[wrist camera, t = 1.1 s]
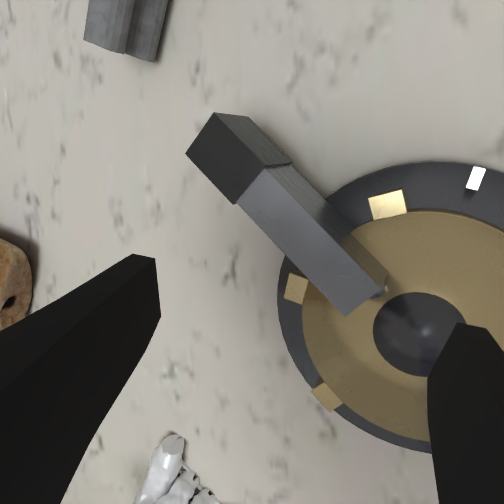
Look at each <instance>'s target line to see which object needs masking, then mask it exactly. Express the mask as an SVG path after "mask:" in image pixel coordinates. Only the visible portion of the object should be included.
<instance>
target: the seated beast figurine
mask: <svg viewBox="0 0 504 504" xmlns="http://www.w3.org/2000/svg"><path fill="white" fill-rule="evenodd" d="M183 449H184V438H179V435H178V434H175V435H170V436H167V437H166V438H165V439H164V440H163V441H162V442H161V443H160V445H159V446H158V447H156V448H155V449H154V450H153V455H152V458H151V459H150V460H149V464H150V466H149V468H148V473H147V477H146V478H145V480H144V481H143V485H142V488H141V489H140V490H139V491H138V492H137V495H136V497H135V502H134V503H133V504H222V503H221V502H220V501H219V500H218V499H217V498H215V495H214V494H212V495H210V496H209V494H208V493H209V491H210V490H209V489H207V488H204V489H203V488H202V487H201V486H200V485H199V481H200V479H199V477H197V478H195V479H194V480H193V477H194V475H195V472H194V471H193V470H191V469H190V468H189V467H188V465H187V464H186V463H185V462H184V461H183V460H182V454H183ZM181 466H183V467H184V468H185V471H183V470H181ZM178 473H180V476H179V477H178V476H177V475H178ZM196 487H197V488H198V489H199V491H200V492H199V493H198V495H195V496H194V497H193V500H192V501H191V500H190V499H191V498H192V496H193V494H194V490H195V489H196Z"/></svg>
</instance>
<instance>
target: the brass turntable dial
mask: <svg viewBox="0 0 504 504" xmlns="http://www.w3.org/2000/svg"><path fill="white" fill-rule="evenodd" d="M185 154H186V155H187V156H188V157H189V158H190V160H191V161H192V162H193V163H194V164H195V165H196V166H197V167H198V168H199V169H200V170H201V171H202V172H203V173H204V174H205V176H206V177H207V178H208V179H209V180H210V181H211V182H212V183H213V184H214V185H215V186H216V187H217V188H218V189H219V190H220V191H221V193H222V194H223V195H224V196H225V197H226V198H227V199H228V200H229V201H230V202H231V203H232V204H236V203H237V204H238V205H239V206H240V207H241V208H242V209H243V210H244V211H245V212H246V213H247V214H248V215H249V216H250V217H251V218H252V220H253V221H254V222H255V223H256V224H257V225H258V226H259V227H260V228H261V229H262V230H263V231H264V232H265V233H266V234H267V235H268V237H269V238H270V239H271V240H272V241H273V242H274V243H275V244H276V245H277V246H278V247H279V248H280V249H281V250H282V251H283V252H284V253H285V255H286V256H287V257H288V258H289V259H290V260H291V261H292V262H293V263H294V264H295V265H296V266H297V267H296V268H295V269H294V270H293V271H292V272H290V274H289V278H288V282H287V286H286V290H285V294H284V298H285V299H288V300H291V301H293V302H296V303H299V304H301V305H302V304H303V308H302V324H303V333H304V338H305V342H306V346H307V349H308V352H309V355H310V357H311V359H312V361H313V363H314V365H315V367H316V370H317V371H318V373H319V374H320V376H319V377H318V379H317V381H316V383H315V385H314V387H313V389H312V390H311V392H312V394H313V395H314V396H315V397H316V398H317V399H318V400H319V401H320V402H321V403H322V405H323V406H324V407H325V408H326V409H327V410H328V411H329V412H331V411H332V410H334V409H335V408H337V407H338V406H340V405H341V404H343V403H344V404H346V405H347V406H348V407H349V408H351V409H352V410H353V411H354V412H355V413H357V414H359V415H360V416H362V417H363V418H365V419H366V420H368V421H369V422H371V423H373V424H375V425H377V426H379V427H381V428H383V429H386V430H388V431H391V432H393V433H396V434H398V435H402V436H405V437H409V438H412V439H417V440H422V441H428V442H430V436H429V428H428V418H427V378H428V376H429V374H430V372H431V370H432V368H433V366H434V364H435V363H436V361H437V359H438V357H439V355H440V353H441V351H442V349H443V348H444V346H445V344H446V342H447V340H448V338H449V336H450V335H451V333H452V331H453V329H454V327H455V325H456V323H457V322H459V323H464V324H468V325H473V326H478V327H483V328H487V330H488V331H489V332H490V334H491V335H492V336H493V338H494V339H495V340H496V342H497V343H498V345H499V346H500V347H501V349H502V350H503V351H504V230H503V229H501V228H500V227H498V226H496V225H494V224H492V223H490V222H488V221H486V220H483V219H481V218H479V217H475V216H472V215H469V214H466V213H463V212H458V211H453V210H448V209H439V208H410V207H409V203H408V199H407V195H406V190H405V186H404V187H400V188H396V189H392V190H389V191H385V192H381V193H377V194H373V195H372V196H371V197H369V198H368V199H369V203H370V207H371V211H372V215H373V219H370V220H368V221H366V222H364V223H362V224H361V225H359V226H357V227H356V228H354V229H353V228H352V227H351V226H350V225H349V224H348V223H347V222H346V221H345V220H344V219H343V218H342V217H341V216H340V215H339V214H338V213H337V212H336V211H335V210H334V209H333V208H332V207H331V206H330V205H329V204H328V203H327V202H326V201H325V199H324V198H323V197H322V196H321V195H320V194H319V193H318V192H317V191H316V190H315V189H314V188H313V187H312V186H311V185H310V184H309V183H308V182H307V181H306V180H305V179H304V178H303V177H302V176H301V175H300V174H299V173H298V172H297V171H296V170H295V169H294V168H293V167H292V166H291V165H290V164H291V163H292V161H291V160H290V159H289V158H288V157H287V156H286V155H285V154H284V153H283V152H282V151H281V150H280V149H279V148H278V146H277V145H276V144H275V143H274V142H273V141H272V140H271V139H270V138H269V137H268V136H267V135H266V134H265V133H264V132H263V131H262V130H261V129H260V128H259V127H258V126H257V125H256V124H255V123H254V122H253V121H252V120H251V119H250V118H249V117H246V116H238V115H230V114H222V113H215V112H214V113H213V114H212V116H211V117H210V119H209V120H208V121H207V123H206V124H205V126H204V127H203V129H202V130H201V132H200V133H199V134H198V136H197V137H196V139H195V140H194V142H193V143H192V144H191V146H190V147H189V149H188V150H187V152H186V153H185ZM409 208H410V209H409ZM430 444H431V443H430Z"/></svg>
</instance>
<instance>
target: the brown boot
mask: <svg viewBox="0 0 504 504" xmlns="http://www.w3.org/2000/svg"><path fill="white" fill-rule="evenodd" d="M31 297H32V273H31V267H30V265H29V262H28V258H27V256H26V255H25V253H24V252H23V250H21V249H20V248H19V247H17V246H15V245H13V244H11V243H9V242H7V241H5V240H3V239H1V238H0V331H1V330H3V329H5V328H7V327H9V326H11V325H13V324H14V323H16V322H18V321H20V320H22V319H23V318H25V315H26V312H27V310H28V307H29V304H30V300H31Z"/></svg>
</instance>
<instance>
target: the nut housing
mask: <svg viewBox="0 0 504 504" xmlns="http://www.w3.org/2000/svg"><path fill="white" fill-rule="evenodd" d="M404 186H405V190H406V195H407V199H408V203H409V207H410V208H439V209H448V210H453V211H458V212H463V213H466V214H469V215H472V216H475V217H479V218H481V219H483V220H486V221H488V222H490V223H492V224H494V225H496V226H498V227H500V228H501V229H503V230H504V173H503V172H501V171H498V170H494V169H491V168H487V167H484V166H480V165H476V164H469V163H463V162H456V161H421V162H410V163H405V164H400V165H396V166H391V167H387V168H384V169H382V170H379V171H376V172H373V173H370V174H368V175H365V176H363V177H361V178H359V179H357V180H355V181H353V182H351V183H349V184H347V185H345V186H344V187H342V188H341V189H339V190H338V191H336V192H335V193H333V194H332V195H330V196H329V197H328V198H327V199H325V201H326V202H327V203H328V204H329V205H330V206H331V207H332V208H333V209H334V210H335V211H336V212H337V213H338V214H339V215H340V216H341V217H342V218H343V219H344V220H345V221H346V222H347V223H348V224H349V225H350V226H351V227H352V228H353V229H354V228H356V227H357V226H359V225H361V224H362V223H364V222H366V221H368V220H370V219H373V215H372V211H371V207H370V203H369V199H368V198H369V197H371V196H372V195H373V194H377V193H381V192H385V191H389V190H392V189H396V188H400V187H404ZM410 208H409V209H410ZM296 267H297V266H296V265H295V264H294V263H293V262H292V261H291V260H290V259H289V258H288V257H287V256H286V255H285V257H284V260H283V263H282V267H281V270H280V276H279V282H278V298H277V304H278V314H279V321H280V325H281V330H282V334H283V337H284V340H285V342H286V345H287V348H288V351H289V353H290V355H291V357H292V359H293V361H294V363H295V365H296V366H297V368H298V369H299V371H300V373H301V374H302V376H303V377H304V379H305V380H306V381H307V383H308V384H309V385H310V386H311V388H312V389H313V387H314V385H315V383H316V381H317V379H318V377H319V376H320V374H319V373H318V371H317V370H316V367H315V365H314V363H313V361H312V359H311V357H310V355H309V352H308V349H307V346H306V342H305V338H304V333H303V324H302V308H303V304H302V305H301V304H299V303H296V302H293V301H291V300H288V299H285V298H284V294H285V290H286V286H287V282H288V278H289V274H290V272H292V271H293V270H294V269H295V268H296ZM334 411H336V412H337V413H338V414H339V415H341V416H342V417H343V418H345V419H346V420H348V421H349V422H351V423H352V424H354V425H355V426H357V427H358V428H360V429H362V430H364V431H366V432H367V433H369V434H371V435H373V436H375V437H377V438H380V439H382V440H384V441H387V442H389V443H392V444H394V445H398V446H401V447H404V448H408V449H411V450H415V451H420V452H425V453H430V454H432V450H431V444H430V442H428V441H422V440H417V439H412V438H409V437H405V436H402V435H398V434H396V433H393V432H391V431H388V430H386V429H383V428H381V427H379V426H377V425H375V424H373V423H371V422H369V421H368V420H366V419H365V418H363V417H362V416H360V415H359V414H357V413H355V412H354V411H353V410H352V409H351V408H349V407H348V406H347V405H346V404H344V403H343V404H341V405H340V406H338V407H337V408H335V409H334Z"/></svg>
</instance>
